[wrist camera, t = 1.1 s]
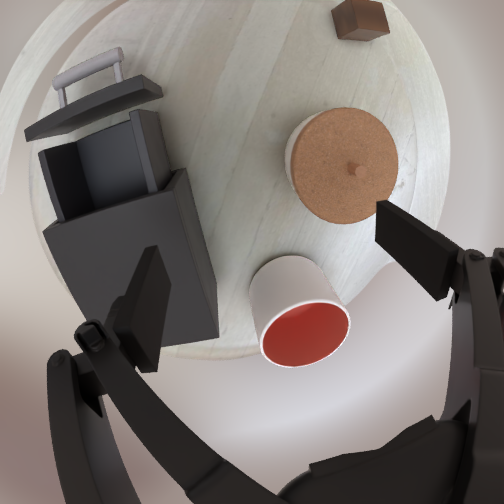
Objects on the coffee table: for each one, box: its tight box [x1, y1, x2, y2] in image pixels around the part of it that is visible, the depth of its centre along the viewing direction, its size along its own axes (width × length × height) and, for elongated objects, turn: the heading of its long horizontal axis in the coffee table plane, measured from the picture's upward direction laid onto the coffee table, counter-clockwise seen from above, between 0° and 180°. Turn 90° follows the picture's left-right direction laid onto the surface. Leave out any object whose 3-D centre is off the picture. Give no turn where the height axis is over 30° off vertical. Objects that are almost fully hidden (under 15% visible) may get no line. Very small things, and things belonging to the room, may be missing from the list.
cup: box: [249, 256, 351, 368], centre depth 31 cm, size 10×10×10 cm
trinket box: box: [284, 107, 398, 224], centre depth 24 cm, size 11×11×9 cm
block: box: [331, 0, 390, 41], centre depth 19 cm, size 4×4×5 cm
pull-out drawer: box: [24, 47, 173, 223], centre depth 21 cm, size 18×12×8 cm, turn 10°
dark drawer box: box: [43, 168, 219, 347], centre depth 26 cm, size 15×13×10 cm
